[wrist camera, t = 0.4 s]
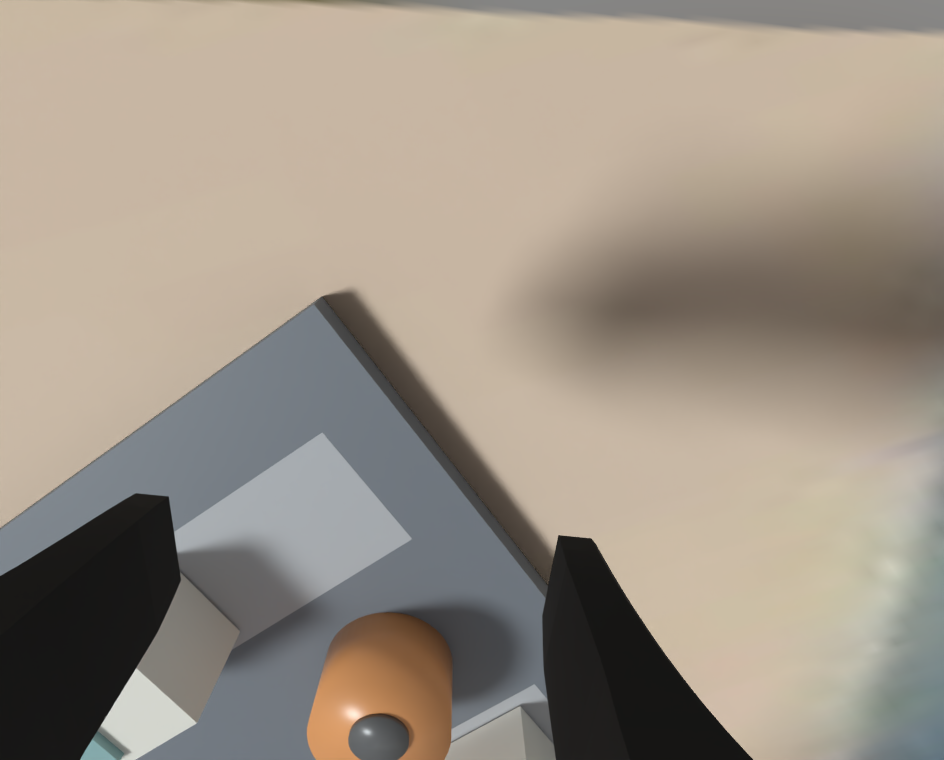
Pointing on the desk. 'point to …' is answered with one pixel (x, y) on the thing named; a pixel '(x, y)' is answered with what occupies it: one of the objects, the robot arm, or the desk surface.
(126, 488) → the breaker panel
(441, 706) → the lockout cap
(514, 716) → the block
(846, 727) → the desk surface
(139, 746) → the block
